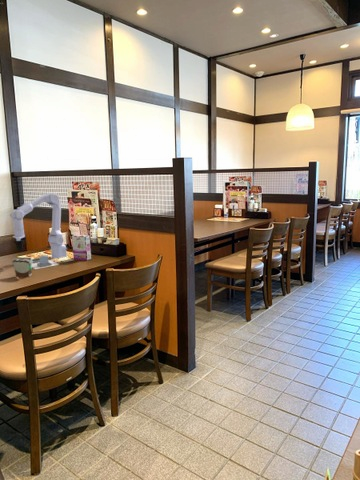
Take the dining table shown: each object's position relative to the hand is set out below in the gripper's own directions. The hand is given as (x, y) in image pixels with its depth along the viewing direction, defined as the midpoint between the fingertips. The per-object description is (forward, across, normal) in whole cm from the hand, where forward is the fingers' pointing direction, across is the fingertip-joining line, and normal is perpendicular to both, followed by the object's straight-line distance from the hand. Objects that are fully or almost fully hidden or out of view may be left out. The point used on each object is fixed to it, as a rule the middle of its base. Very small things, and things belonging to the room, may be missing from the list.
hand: (21, 250), depth 221 cm
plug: (+9, +7, +13) cm, 18 cm away
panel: (+10, +1, +10) cm, 15 cm away
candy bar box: (+10, -2, +37) cm, 38 cm away
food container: (+10, +25, +5) cm, 28 cm away
